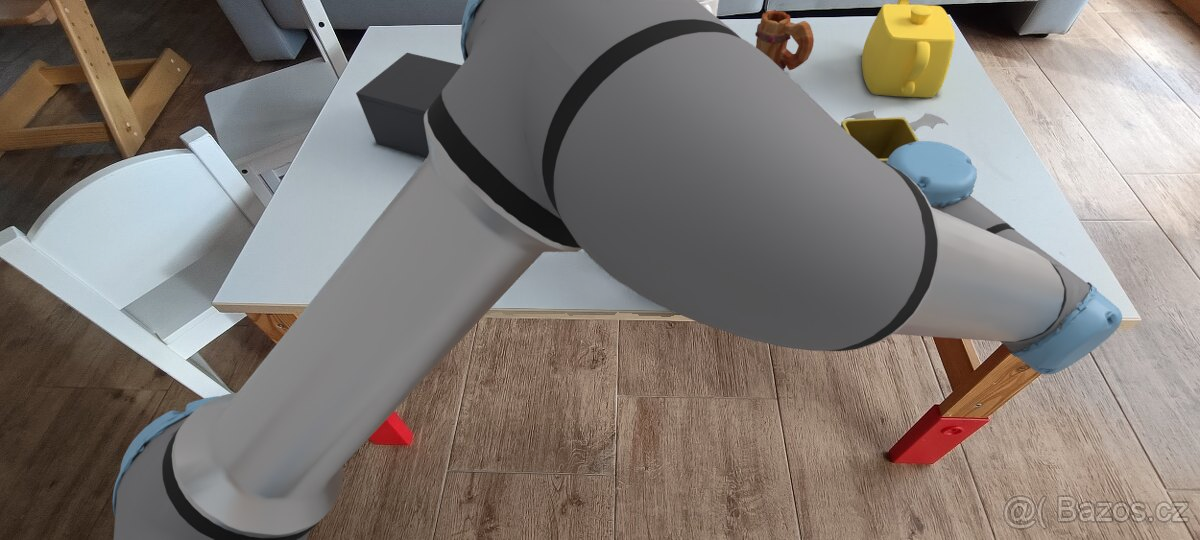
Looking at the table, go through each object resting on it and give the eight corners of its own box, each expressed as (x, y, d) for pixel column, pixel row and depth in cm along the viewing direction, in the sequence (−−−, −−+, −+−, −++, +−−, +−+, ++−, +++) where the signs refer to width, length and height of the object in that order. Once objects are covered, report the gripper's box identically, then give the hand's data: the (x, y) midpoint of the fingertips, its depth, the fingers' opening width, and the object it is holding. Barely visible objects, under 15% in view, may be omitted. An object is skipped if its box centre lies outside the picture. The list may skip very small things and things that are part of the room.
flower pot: (905, 209, 82) (929, 157, 75) (841, 212, 82) (859, 160, 75) (884, 168, 88) (905, 116, 81) (824, 170, 88) (840, 119, 81)
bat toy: (838, 130, 94) (846, 104, 91) (939, 136, 92) (951, 109, 88) (839, 142, 92) (848, 116, 89) (943, 148, 90) (955, 121, 87)
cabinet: (493, 121, 100) (481, 69, 93) (450, 166, 93) (434, 113, 86) (422, 103, 105) (406, 52, 97) (376, 144, 97) (355, 93, 90)
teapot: (853, 42, 111) (872, -23, 102) (924, 45, 109) (950, -21, 100) (865, 104, 98) (888, 36, 89) (945, 108, 96) (977, 40, 88)
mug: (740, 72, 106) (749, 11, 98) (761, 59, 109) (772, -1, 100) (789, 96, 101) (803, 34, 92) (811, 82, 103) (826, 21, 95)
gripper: (762, 330, 65) (574, 267, 72) (803, 216, 76) (636, 172, 83) (774, 287, 59) (568, 223, 67) (816, 171, 70) (636, 127, 78)
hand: (606, 195), depth 75 cm, fingers closed on beverage can, 6 cm apart
